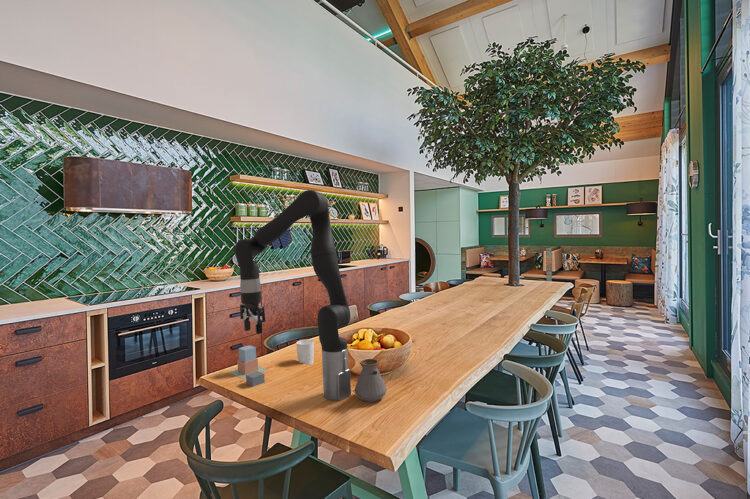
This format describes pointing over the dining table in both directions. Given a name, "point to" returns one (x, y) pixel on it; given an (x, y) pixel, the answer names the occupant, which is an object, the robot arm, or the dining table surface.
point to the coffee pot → (370, 382)
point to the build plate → (242, 376)
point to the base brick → (247, 366)
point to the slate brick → (255, 378)
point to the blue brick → (247, 353)
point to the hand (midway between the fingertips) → (253, 331)
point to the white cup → (305, 351)
